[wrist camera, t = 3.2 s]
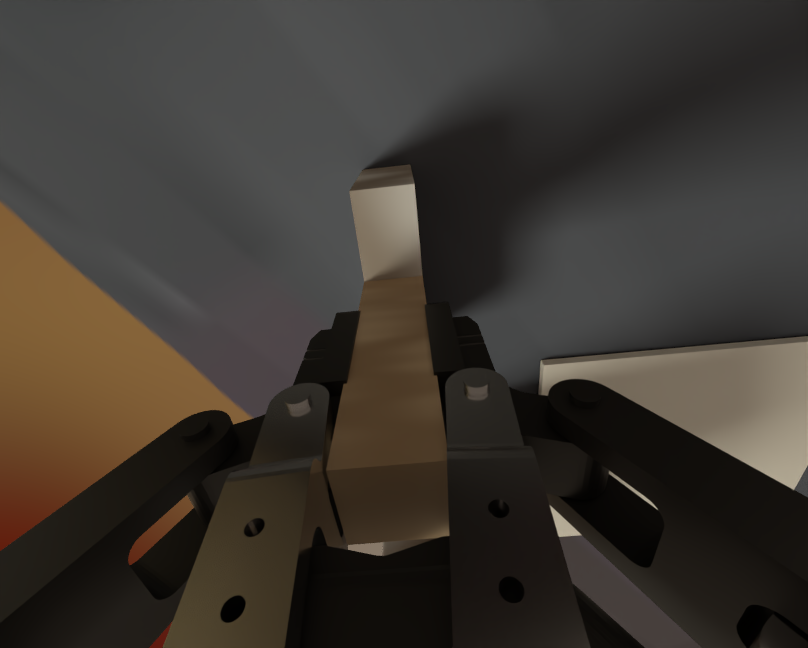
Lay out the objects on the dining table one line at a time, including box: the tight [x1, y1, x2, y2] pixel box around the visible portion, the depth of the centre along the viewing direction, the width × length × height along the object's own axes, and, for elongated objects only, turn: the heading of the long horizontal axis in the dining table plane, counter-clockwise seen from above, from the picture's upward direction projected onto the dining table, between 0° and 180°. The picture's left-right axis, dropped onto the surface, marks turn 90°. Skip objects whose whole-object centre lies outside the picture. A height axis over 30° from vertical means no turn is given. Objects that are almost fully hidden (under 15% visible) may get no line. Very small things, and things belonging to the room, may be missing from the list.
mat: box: [538, 336, 808, 537], centre depth 24 cm, size 17×15×1 cm
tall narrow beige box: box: [326, 164, 449, 545], centre depth 12 cm, size 2×8×13 cm, turn 6°
